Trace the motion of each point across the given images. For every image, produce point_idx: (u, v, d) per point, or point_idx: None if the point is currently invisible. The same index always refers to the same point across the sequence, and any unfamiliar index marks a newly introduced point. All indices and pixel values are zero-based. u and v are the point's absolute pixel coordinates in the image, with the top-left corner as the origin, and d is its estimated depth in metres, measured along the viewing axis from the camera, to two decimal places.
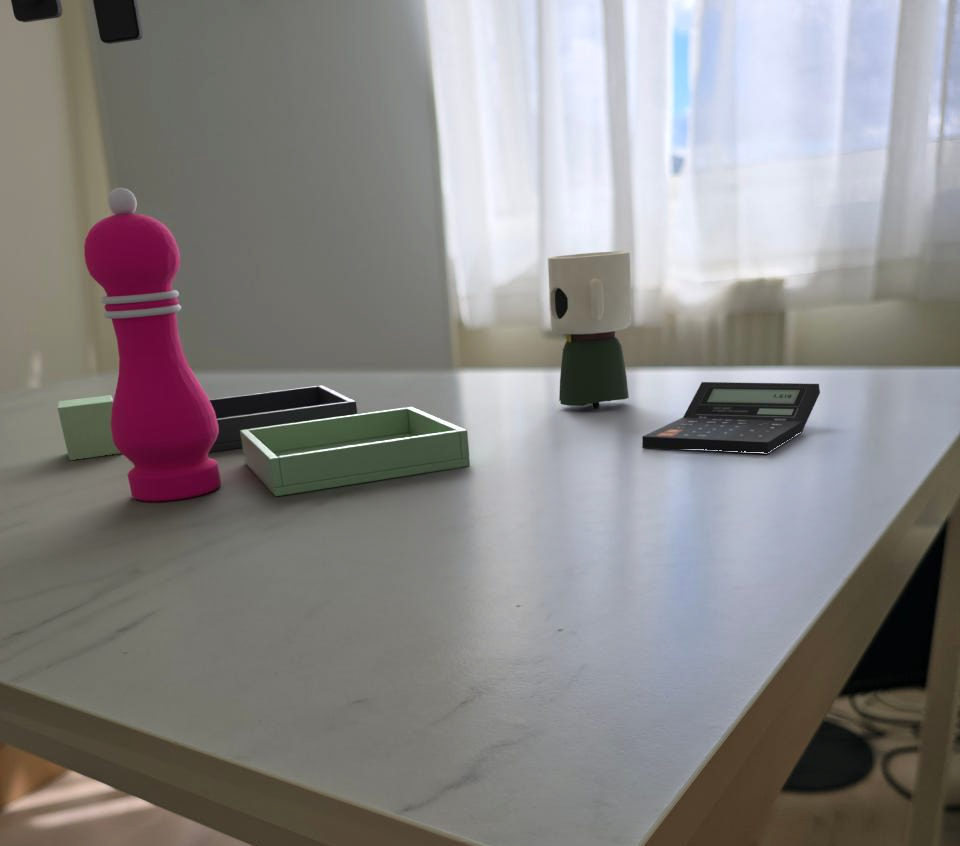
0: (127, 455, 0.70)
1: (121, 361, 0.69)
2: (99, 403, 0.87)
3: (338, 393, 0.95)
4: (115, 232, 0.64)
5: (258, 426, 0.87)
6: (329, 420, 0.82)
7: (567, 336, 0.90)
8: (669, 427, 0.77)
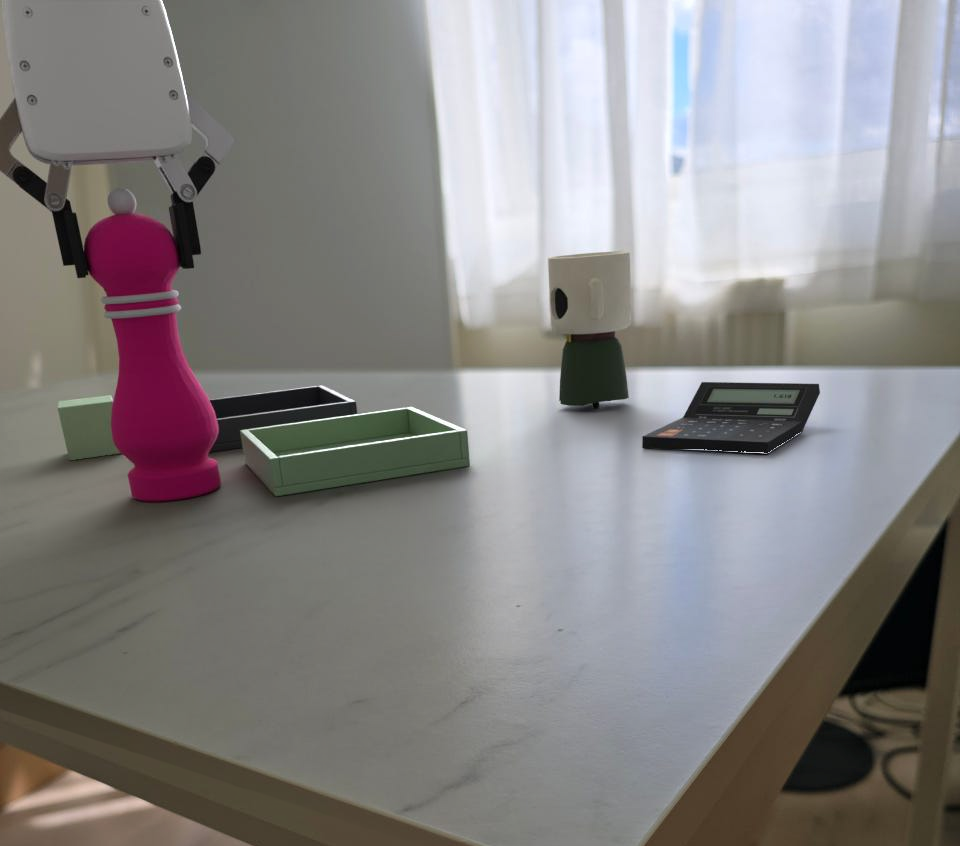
0: (127, 455, 0.70)
1: (121, 361, 0.69)
2: (99, 403, 0.87)
3: (338, 393, 0.95)
4: (115, 232, 0.64)
5: (258, 426, 0.87)
6: (329, 420, 0.82)
7: (567, 336, 0.90)
8: (669, 427, 0.77)
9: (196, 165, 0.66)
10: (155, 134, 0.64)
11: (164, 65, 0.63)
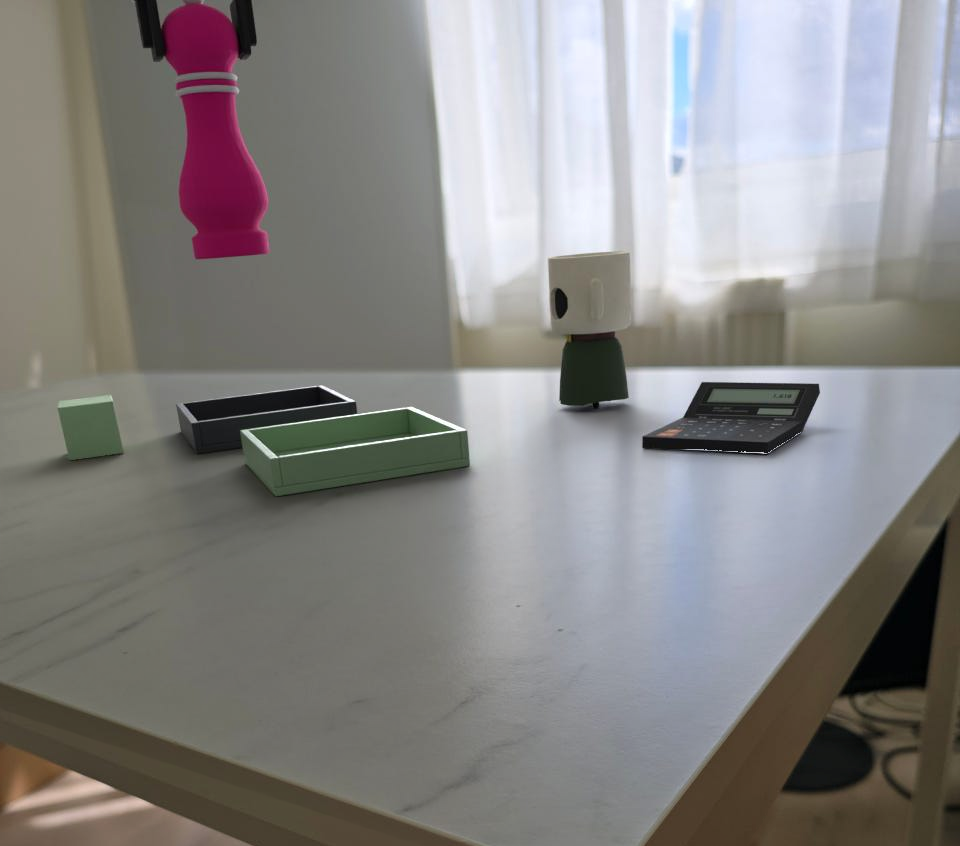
0: (192, 217, 0.83)
1: (188, 134, 0.82)
2: (99, 403, 0.87)
3: (338, 393, 0.95)
4: (188, 15, 0.78)
5: (258, 426, 0.87)
6: (329, 420, 0.82)
7: (567, 336, 0.90)
8: (669, 427, 0.77)
9: None
10: None
11: None
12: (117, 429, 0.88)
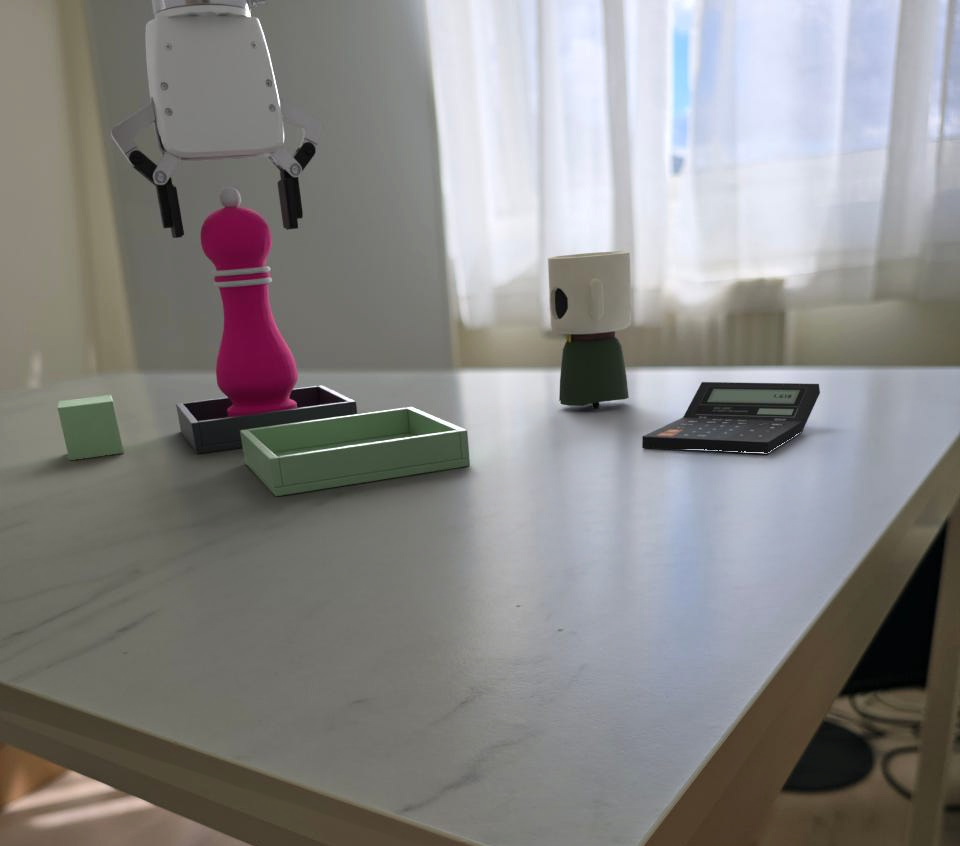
0: (229, 394, 0.90)
1: (226, 320, 0.89)
2: (99, 403, 0.87)
3: (338, 393, 0.95)
4: (227, 221, 0.85)
5: (258, 426, 0.87)
6: (329, 420, 0.82)
7: (567, 336, 0.90)
8: (669, 427, 0.77)
9: (301, 149, 0.86)
10: (257, 137, 0.84)
11: (265, 86, 0.83)
12: (117, 429, 0.88)
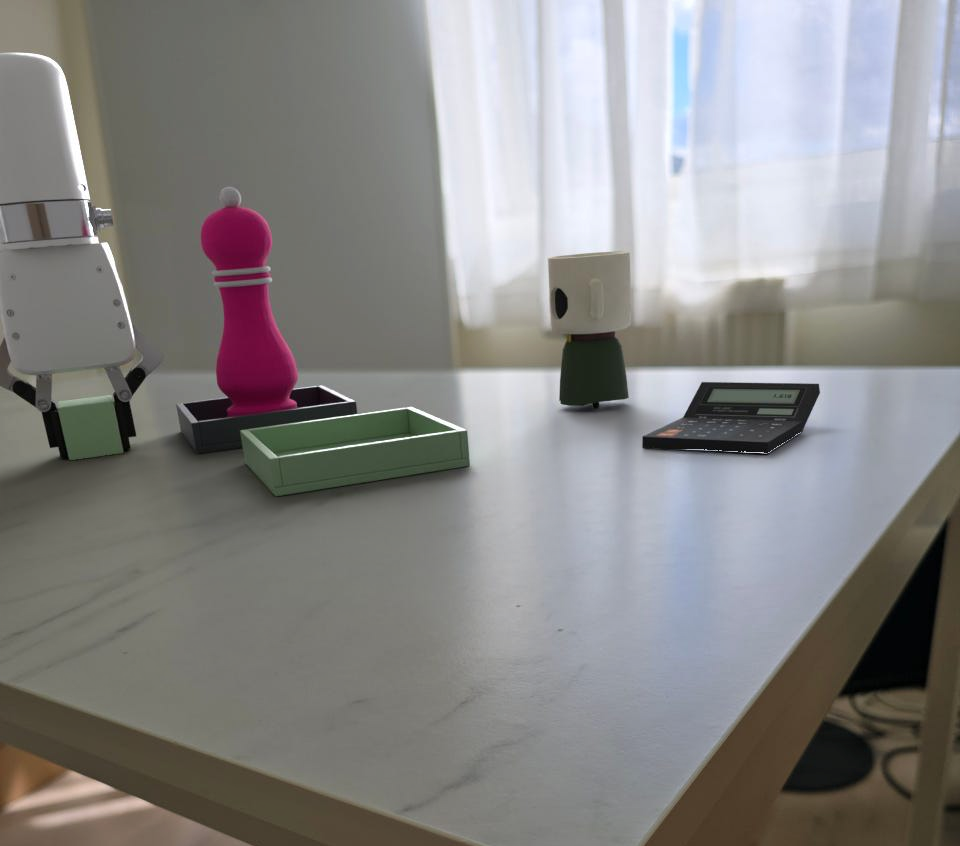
0: (229, 394, 0.90)
1: (226, 320, 0.89)
2: (99, 403, 0.87)
3: (338, 393, 0.95)
4: (227, 221, 0.85)
5: (258, 426, 0.87)
6: (329, 420, 0.82)
7: (567, 336, 0.90)
8: (669, 427, 0.77)
9: (131, 374, 0.88)
10: (107, 353, 0.86)
11: (114, 305, 0.85)
12: (117, 429, 0.88)
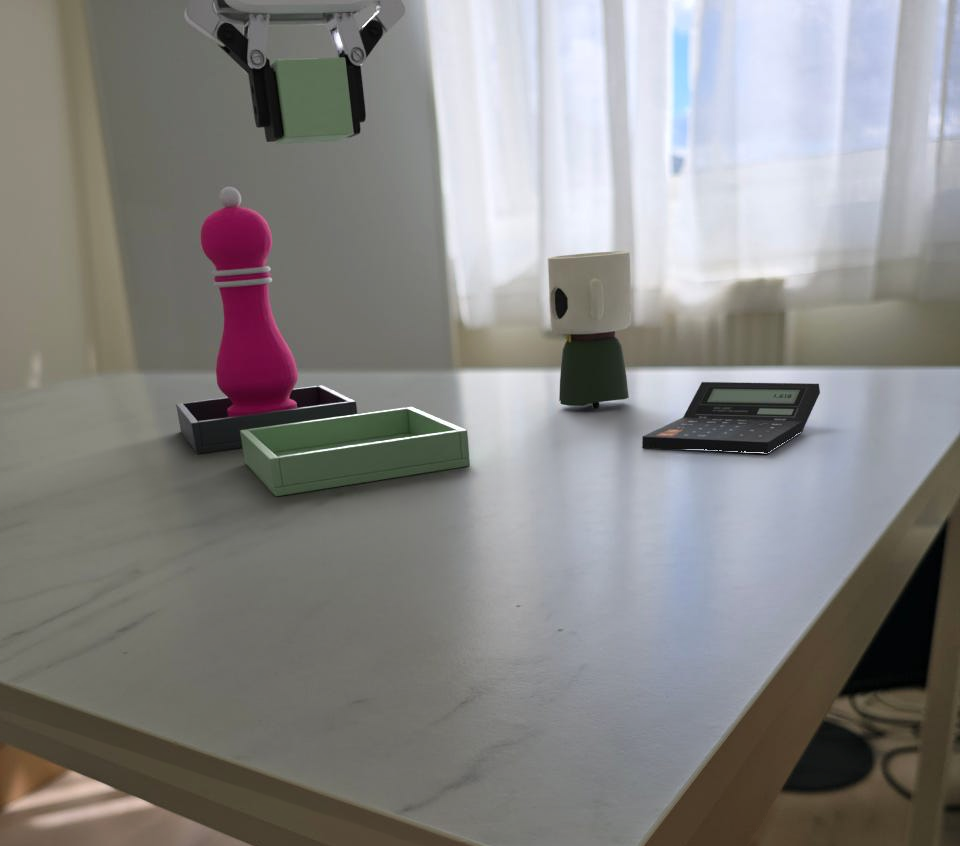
0: (229, 394, 0.90)
1: (226, 320, 0.89)
2: (328, 59, 0.66)
3: (338, 393, 0.95)
4: (227, 221, 0.85)
5: (258, 426, 0.87)
6: (329, 420, 0.82)
7: (567, 336, 0.90)
8: (669, 427, 0.77)
9: (365, 29, 0.67)
10: None
11: None
12: (348, 99, 0.67)
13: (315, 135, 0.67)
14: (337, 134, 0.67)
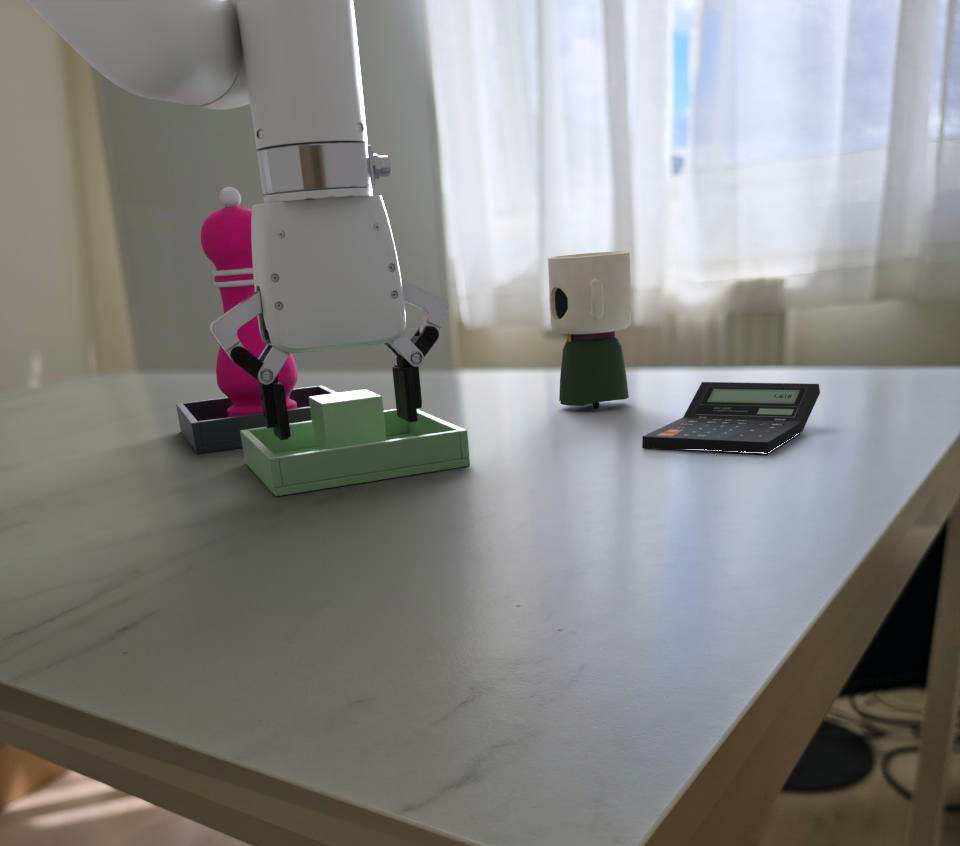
0: (229, 394, 0.90)
1: None
2: (367, 398, 0.74)
3: None
4: (227, 221, 0.85)
5: (258, 426, 0.87)
6: None
7: (567, 336, 0.90)
8: (669, 427, 0.77)
9: (423, 334, 0.75)
10: (377, 328, 0.73)
11: (388, 270, 0.72)
12: (384, 429, 0.75)
13: None
14: None
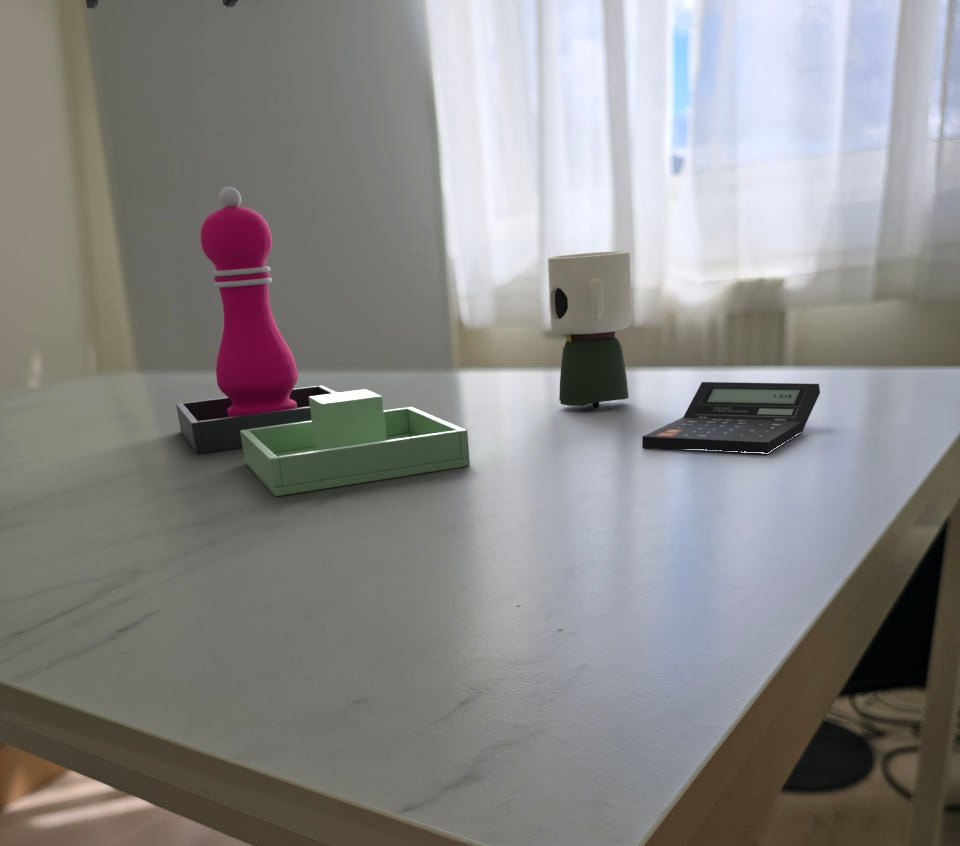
0: (229, 394, 0.90)
1: (226, 320, 0.89)
2: (367, 398, 0.74)
3: None
4: (227, 221, 0.85)
5: (258, 426, 0.87)
6: None
7: (567, 336, 0.90)
8: (669, 427, 0.77)
9: None
10: None
11: None
12: (384, 429, 0.75)
13: None
14: None
